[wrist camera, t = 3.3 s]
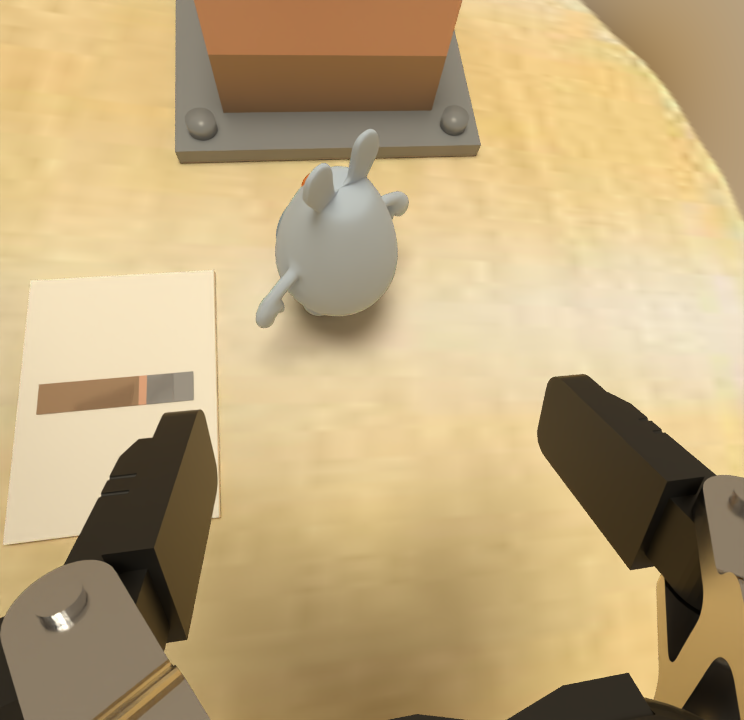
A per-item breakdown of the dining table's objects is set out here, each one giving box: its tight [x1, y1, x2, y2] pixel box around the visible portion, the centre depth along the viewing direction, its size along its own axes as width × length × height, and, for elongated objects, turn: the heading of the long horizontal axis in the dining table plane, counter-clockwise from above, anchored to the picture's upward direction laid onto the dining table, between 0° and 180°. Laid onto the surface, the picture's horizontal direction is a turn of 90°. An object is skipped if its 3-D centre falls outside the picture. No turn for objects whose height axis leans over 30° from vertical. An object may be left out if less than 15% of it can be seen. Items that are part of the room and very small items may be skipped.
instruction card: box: [3, 270, 221, 545], centre depth 24 cm, size 10×14×1 cm
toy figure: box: [256, 129, 409, 328], centre depth 21 cm, size 11×6×12 cm, turn 136°
